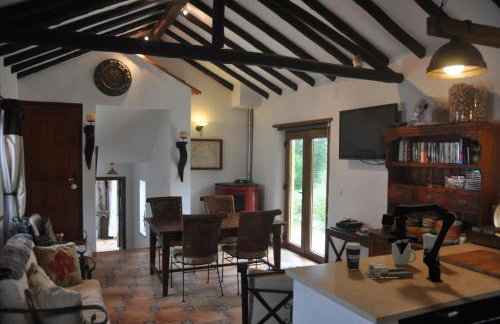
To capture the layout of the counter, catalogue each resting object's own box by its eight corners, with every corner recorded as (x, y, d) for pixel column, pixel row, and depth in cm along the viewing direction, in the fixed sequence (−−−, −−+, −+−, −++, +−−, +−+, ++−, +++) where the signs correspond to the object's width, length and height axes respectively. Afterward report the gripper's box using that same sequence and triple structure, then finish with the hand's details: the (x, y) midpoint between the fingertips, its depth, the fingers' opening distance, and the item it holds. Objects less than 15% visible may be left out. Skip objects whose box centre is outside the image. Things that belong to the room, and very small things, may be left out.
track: (413, 277, 221) (413, 266, 221) (372, 279, 218) (372, 268, 217) (404, 272, 230) (404, 261, 230) (365, 274, 227) (365, 263, 226)
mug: (419, 265, 243) (420, 244, 243) (411, 269, 236) (412, 247, 235) (396, 260, 254) (396, 240, 254) (388, 263, 247) (388, 243, 246)
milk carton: (442, 264, 246) (442, 232, 245) (431, 265, 242) (432, 233, 242) (430, 260, 254) (430, 229, 253) (420, 262, 250) (420, 230, 250)
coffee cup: (343, 269, 235) (343, 244, 235) (347, 265, 244) (347, 241, 243) (359, 272, 231) (359, 246, 230) (362, 267, 239) (362, 243, 239)
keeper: (388, 275, 220) (388, 267, 220) (379, 275, 220) (379, 267, 220) (383, 272, 226) (383, 264, 226) (374, 272, 226) (375, 264, 226)
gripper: (408, 223, 234) (408, 249, 235) (378, 225, 231) (379, 251, 232) (419, 227, 223) (419, 254, 224) (388, 228, 220) (388, 256, 221)
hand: (401, 254), depth 225 cm, fingers closed
